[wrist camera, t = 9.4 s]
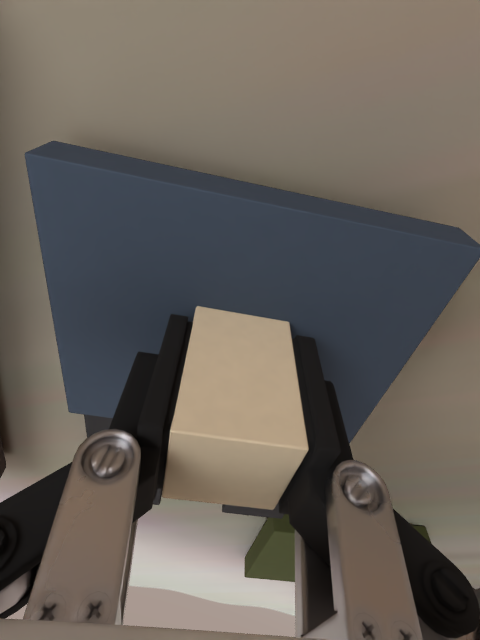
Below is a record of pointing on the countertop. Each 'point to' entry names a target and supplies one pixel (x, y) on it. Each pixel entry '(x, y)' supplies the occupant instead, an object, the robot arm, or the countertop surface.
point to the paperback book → (2, 459)
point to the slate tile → (231, 304)
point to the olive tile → (279, 551)
